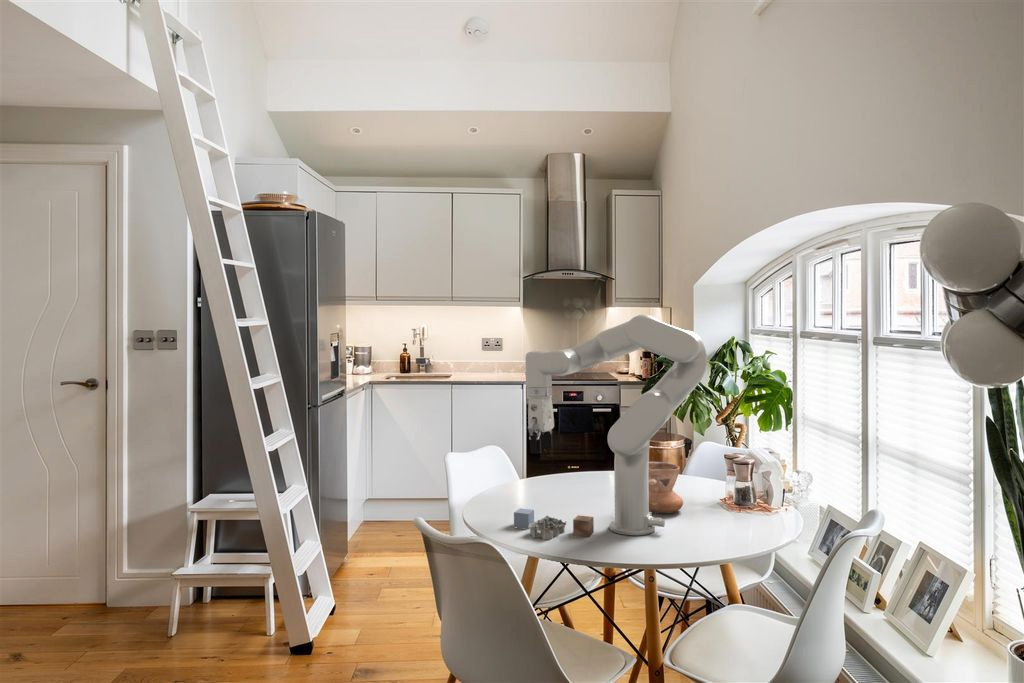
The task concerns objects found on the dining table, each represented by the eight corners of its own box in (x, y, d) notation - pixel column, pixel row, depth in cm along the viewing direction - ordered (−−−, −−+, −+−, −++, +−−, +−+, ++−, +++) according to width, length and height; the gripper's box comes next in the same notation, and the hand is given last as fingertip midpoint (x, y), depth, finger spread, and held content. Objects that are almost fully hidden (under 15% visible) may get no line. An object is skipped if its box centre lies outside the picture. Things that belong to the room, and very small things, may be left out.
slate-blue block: (534, 525, 185) (534, 509, 185) (528, 529, 181) (528, 513, 181) (519, 523, 187) (519, 508, 187) (514, 528, 183) (513, 512, 183)
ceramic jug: (675, 521, 188) (676, 472, 188) (627, 514, 194) (628, 467, 194) (689, 507, 203) (689, 462, 203) (644, 501, 210) (644, 458, 210)
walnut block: (593, 533, 178) (593, 516, 178) (589, 537, 173) (589, 521, 173) (578, 531, 179) (577, 515, 179) (573, 536, 175) (573, 519, 175)
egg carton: (548, 542, 171) (548, 527, 171) (525, 537, 175) (525, 522, 175) (569, 531, 179) (569, 517, 179) (547, 527, 184) (546, 513, 184)
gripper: (541, 395, 180) (543, 456, 180) (560, 390, 196) (562, 445, 196) (516, 395, 183) (518, 455, 183) (537, 390, 199) (539, 445, 199)
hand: (541, 450), depth 190 cm, fingers open, 9 cm apart
